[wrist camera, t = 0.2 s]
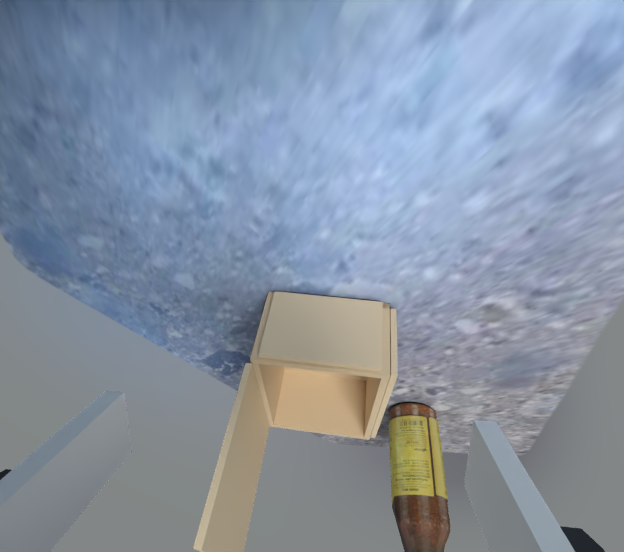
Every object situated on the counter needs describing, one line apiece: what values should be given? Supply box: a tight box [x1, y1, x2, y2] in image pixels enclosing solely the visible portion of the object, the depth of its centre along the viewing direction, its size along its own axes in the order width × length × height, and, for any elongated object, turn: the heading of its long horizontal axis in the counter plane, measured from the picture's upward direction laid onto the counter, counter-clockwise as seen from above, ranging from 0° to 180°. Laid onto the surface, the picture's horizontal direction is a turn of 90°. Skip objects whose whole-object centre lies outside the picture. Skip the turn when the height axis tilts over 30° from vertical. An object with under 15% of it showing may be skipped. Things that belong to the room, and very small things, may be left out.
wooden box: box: [250, 291, 398, 440], centre depth 36 cm, size 16×12×7 cm
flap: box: [193, 363, 269, 552], centre depth 30 cm, size 14×1×12 cm, turn 0°
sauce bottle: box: [389, 403, 450, 552], centre depth 42 cm, size 6×6×20 cm
